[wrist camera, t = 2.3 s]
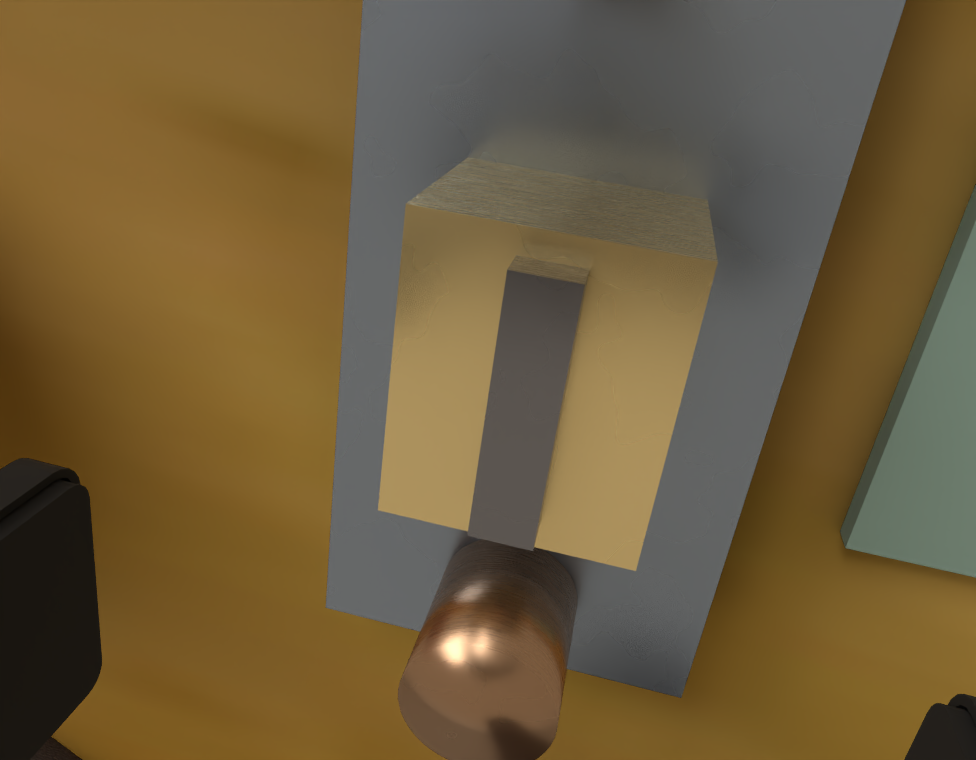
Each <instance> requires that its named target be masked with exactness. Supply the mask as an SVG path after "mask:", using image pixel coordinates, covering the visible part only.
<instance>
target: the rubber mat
mask: <svg viewBox="0 0 976 760" xmlns="http://www.w3.org/2000/svg"><path fill="white" fill-rule="evenodd" d="M840 532H841V536H842V539H843V542H844V545H845V548H847V549H851V550H856V551H860V552H865V553H869V554H874V555H878V556H882V557H887V558H891V559H896V560H900V561H905V562H909V563H914V564H918V565H922V566H927V567H931V568H936V569H940V570H945V571H949V572H953V573H958V574H962V575H967V576H971V577H976V184H975V187H974V190H973V192H972V195H971V197H970V200H969V202H968V205H967V207H966V210H965V213H964V215H963V218H962V220H961V223H960V225H959V228H958V231H957V233H956V236H955V238H954V241H953V243H952V246H951V248H950V251H949V254H948V256H947V259H946V261H945V264H944V266H943V269H942V272H941V274H940V277H939V279H938V282H937V284H936V287H935V289H934V292H933V295H932V297H931V300H930V302H929V305H928V307H927V310H926V313H925V315H924V318H923V320H922V323H921V325H920V328H919V330H918V333H917V336H916V338H915V341H914V343H913V346H912V348H911V351H910V354H909V356H908V359H907V361H906V364H905V366H904V369H903V371H902V374H901V377H900V379H899V382H898V384H897V387H896V389H895V392H894V394H893V397H892V400H891V402H890V405H889V407H888V410H887V412H886V415H885V418H884V420H883V423H882V425H881V428H880V430H879V433H878V435H877V438H876V441H875V443H874V446H873V448H872V451H871V453H870V456H869V459H868V461H867V464H866V466H865V469H864V471H863V474H862V476H861V479H860V482H859V484H858V487H857V489H856V492H855V494H854V497H853V500H852V502H851V505H850V507H849V510H848V512H847V515H846V517H845V520H844V523H843V525H842V528H841V530H840Z"/></svg>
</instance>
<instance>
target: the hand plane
mask: <svg viewBox="0 0 976 760" xmlns="http://www.w3.org/2000/svg"><path fill="white" fill-rule="evenodd" d="M905 2H906V0H363V8H362V24H361V40H360V57H359V73H358V89H357V106H356V122H355V138H354V155H353V171H352V187H351V204H350V220H349V236H348V253H347V269H346V285H345V302H344V318H343V335H342V351H341V367H340V384H339V400H338V416H337V433H336V449H335V465H334V482H333V498H332V514H331V531H330V547H329V563H328V580H327V596H326V608H329V609H333V610H337V611H341V612H345V613H349V614H353V615H357V616H361V617H365V618H369V619H373V620H377V621H380V622H384V623H388V624H392V625H396V626H400V627H404V628H408V629H412V630H416V631H420V634H419V636H418V639H417V641H416V643H415V646H414V648H413V651H412V653H411V656H410V658H409V661H408V663H407V666H406V668H405V671H404V673H403V675H402V678H401V680H400V684H399V689H398V700H399V706H400V710H401V713H402V715H403V718H404V720H405V722H406V723H407V725H408V726H409V728H410V729H411V731H412V732H413V733H414V734H415V736H416V737H417V738H418V739H419V740H420V741H421V742H422V743H424V744H425V745H426V746H427V747H428V748H430V749H431V750H433V751H434V752H436V753H437V754H439V755H441V756H442V757H444V758H446V759H448V760H535V759H537V758H539V757H540V756H541V755H542V754H543V753H544V752H546V750H547V749H548V748H549V747H550V745H551V744H552V742H553V740H554V738H555V735H556V732H557V726H558V720H559V714H560V708H561V702H562V696H563V689H564V683H565V677H566V671H567V669H570V670H574V671H577V672H581V673H585V674H589V675H593V676H597V677H601V678H605V679H609V680H613V681H617V682H621V683H625V684H629V685H633V686H637V687H640V688H644V689H648V690H652V691H656V692H660V693H664V694H668V695H672V696H676V697H680V698H681V697H682V694H683V691H684V687H685V684H686V681H687V678H688V675H689V672H690V669H691V666H692V663H693V660H694V656H695V653H696V650H697V647H698V644H699V641H700V638H701V635H702V632H703V629H704V625H705V622H706V619H707V616H708V613H709V610H710V607H711V604H712V601H713V597H714V594H715V591H716V588H717V585H718V582H719V579H720V576H721V573H722V570H723V566H724V563H725V560H726V557H727V554H728V551H729V548H730V545H731V542H732V539H733V535H734V532H735V529H736V526H737V523H738V520H739V517H740V514H741V511H742V508H743V504H744V501H745V498H746V495H747V492H748V489H749V486H750V483H751V480H752V477H753V473H754V470H755V467H756V464H757V461H758V458H759V455H760V452H761V449H762V446H763V442H764V439H765V436H766V433H767V430H768V427H769V424H770V421H771V418H772V414H773V411H774V408H775V405H776V402H777V399H778V396H779V393H780V390H781V387H782V383H783V380H784V377H785V374H786V371H787V368H788V365H789V362H790V359H791V356H792V352H793V349H794V346H795V343H796V340H797V337H798V334H799V331H800V328H801V325H802V321H803V318H804V315H805V312H806V309H807V306H808V303H809V300H810V297H811V294H812V290H813V287H814V284H815V281H816V278H817V275H818V272H819V269H820V266H821V263H822V259H823V256H824V253H825V250H826V247H827V244H828V241H829V238H830V235H831V231H832V228H833V225H834V222H835V219H836V216H837V213H838V210H839V207H840V204H841V200H842V197H843V194H844V191H845V188H846V185H847V182H848V179H849V176H850V173H851V169H852V166H853V163H854V160H855V157H856V154H857V151H858V148H859V145H860V142H861V138H862V135H863V132H864V129H865V126H866V123H867V120H868V117H869V114H870V111H871V107H872V104H873V101H874V98H875V95H876V92H877V89H878V86H879V83H880V80H881V76H882V73H883V70H884V67H885V64H886V61H887V58H888V55H889V52H890V48H891V45H892V42H893V39H894V36H895V33H896V30H897V27H898V24H899V21H900V17H901V14H902V11H903V8H904V5H905ZM468 157H469V158H474V159H480V160H486V161H491V162H497V163H503V164H508V165H514V166H520V167H525V168H531V169H536V170H542V171H548V172H553V173H559V174H565V175H570V176H576V177H581V178H587V179H593V180H598V181H604V182H610V183H615V184H621V185H627V186H632V187H638V188H643V189H649V190H655V191H660V192H666V193H672V194H677V195H683V196H689V197H694V198H700V199H705V200H708V205H709V211H710V217H711V223H712V229H713V235H714V241H715V247H716V253H717V260H718V263H717V267H716V271H715V275H714V278H713V282H712V286H711V290H710V294H709V297H708V301H707V305H706V309H705V312H704V316H703V320H702V324H701V328H700V331H699V335H698V339H697V343H696V346H695V350H694V354H693V358H692V361H691V365H690V369H689V373H688V377H687V380H686V384H685V388H684V392H683V395H682V399H681V403H680V407H679V410H678V414H677V418H676V422H675V426H674V429H673V433H672V437H671V441H670V444H669V448H668V452H667V456H666V459H665V463H664V467H663V471H662V475H661V478H660V482H659V486H658V490H657V493H656V497H655V501H654V505H653V508H652V512H651V516H650V520H649V524H648V527H647V531H646V535H645V539H644V542H643V546H642V550H641V554H640V557H639V561H638V565H637V569H636V571H633V570H629V569H625V568H621V567H616V566H612V565H608V564H604V563H599V562H595V561H591V560H587V559H582V558H578V557H574V556H570V555H566V554H561V553H557V552H553V551H549V550H544V549H540V548H536V547H534V549H533V551H530V550H526V549H522V548H518V547H513V546H509V545H505V544H501V543H496V542H492V541H488V540H484V539H480V538H475V537H471V536H467V534H468V531H464V530H460V529H455V528H451V527H447V526H443V525H438V524H434V523H430V522H426V521H422V520H417V519H413V518H409V517H405V516H400V515H396V514H392V513H388V512H383V511H379V510H378V504H379V493H380V482H381V471H382V460H383V449H384V438H385V426H386V415H387V404H388V393H389V382H390V371H391V360H392V349H393V338H394V327H395V316H396V305H397V294H398V283H399V272H400V261H401V250H402V239H403V228H404V217H405V206H406V203H407V202H409V201H410V200H411V199H413V198H414V197H415V196H417V195H418V194H419V193H421V192H422V191H423V190H425V189H426V188H427V187H429V186H430V185H431V184H433V183H434V182H436V181H437V180H438V179H440V178H441V177H442V176H444V175H445V174H446V173H448V172H449V171H450V170H452V169H453V168H454V167H456V166H457V165H458V164H460V163H461V162H462V161H464V160H465V159H466V158H468Z"/></svg>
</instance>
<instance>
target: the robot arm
mask: <svg viewBox="0 0 976 760" xmlns="http://www.w3.org/2000/svg"><path fill="white" fill-rule="evenodd" d="M101 666H102V653H101V640H100V627H99V614H98V601H97V588H96V575H95V562H94V549H93V536H92V523H91V510H90V497H89V493H88V490H87V489H86V487H84V486H82V485H80V481H79V477H78V476H77V474H76V473H75V472H74V471H72V470H70V469H68V468H64V467H60V466H56V465H52V464H49V463H45V462H41V461H37V460H33V459H29V458H21V459H18V460H15V461H13V462H11V463H10V464H8V465H6V466H5V467H3V468H2V469H0V760H30V759H31V758H32V757H33V756H34V755H35V754H36V753H37V751H38V750H39V749H40V748H41V747H42V746H43V745H44V744H45V742H46V741H47V740H48V739H49V738H50V737H51V736H52V735H53V733H54V732H55V731H56V730H57V729H58V728H59V727H60V726H61V724H62V723H63V722H64V721H65V720H66V719H67V718H68V717H69V715H70V714H71V713H72V712H73V711H74V710H75V709H76V708H77V706H78V705H79V704H80V703H81V702H82V701H83V700H84V699H85V697H86V696H87V695H88V694H89V693H90V691H91V690H92V689H93V687H94V685H95V683H96V681H97V679H98V677H99V674H100V670H101ZM904 760H976V697H974V696H970V695H966V694H958V695H956V696H955V697H953V698H952V699H951V700H950V702H949V703H948V705H945V704H941V703H936V704H934V705H933V706H931V708H930V709H929V711H928V712H927V714H926V716H925V718H924V720H923V722H922V725H921V727H920V729H919V731H918V733H917V735H916V737H915V739H914V741H913V743H912V745H911V747H910V749H909V751H908V753H907V755H906V757H905V759H904Z"/></svg>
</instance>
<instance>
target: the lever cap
mask: <svg viewBox="0 0 976 760" xmlns="http://www.w3.org/2000/svg"><path fill="white" fill-rule="evenodd" d="M717 263H718V260H717V253H716V247H715V241H714V235H713V229H712V223H711V217H710V211H709V205H708V200H705V199H700V198H694V197H689V196H683V195H677V194H672V193H666V192H660V191H655V190H649V189H643V188H638V187H632V186H627V185H621V184H615V183H610V182H604V181H598V180H593V179H587V178H581V177H576V176H570V175H565V174H559V173H553V172H548V171H542V170H536V169H531V168H525V167H520V166H514V165H508V164H503V163H497V162H491V161H486V160H480V159H474V158H469V157H468V158H466V159H465V160H464V161H462V162H461V163H460V164H458V165H457V166H456V167H454V168H453V169H452V170H450V171H449V172H448V173H446V174H445V175H444V176H442V177H441V178H440V179H438V180H437V181H436V182H434V183H433V184H431V185H430V186H429V187H427V188H426V189H425V190H423V191H422V192H421V193H419V194H418V195H417V196H415V197H414V198H413V199H411V200H410V201H409V202H407V203H406V206H405V217H404V228H403V239H402V250H401V261H400V272H399V283H398V294H397V305H396V316H395V327H394V338H393V349H392V360H391V371H390V382H389V393H388V404H387V415H386V426H385V438H384V449H383V460H382V471H381V482H380V493H379V504H378V510H379V511H383V512H388V513H392V514H396V515H400V516H405V517H409V518H413V519H417V520H422V521H426V522H430V523H434V524H438V525H443V526H447V527H451V528H455V529H460V530H464V531H468V534H467V536H471V537H475V538H480V539H484V540H488V541H492V542H496V543H501V544H505V545H509V546H513V547H518V548H522V549H526V550H530V551H533V549H534V547H536V548H540V549H544V550H549V551H553V552H557V553H561V554H566V555H570V556H574V557H578V558H582V559H587V560H591V561H595V562H599V563H604V564H608V565H612V566H616V567H621V568H625V569H629V570H633V571H636V569H637V565H638V561H639V557H640V554H641V550H642V546H643V542H644V539H645V535H646V531H647V527H648V524H649V520H650V516H651V512H652V508H653V505H654V501H655V497H656V493H657V490H658V486H659V482H660V478H661V475H662V471H663V467H664V463H665V459H666V456H667V452H668V448H669V444H670V441H671V437H672V433H673V429H674V426H675V422H676V418H677V414H678V410H679V407H680V403H681V399H682V395H683V392H684V388H685V384H686V380H687V377H688V373H689V369H690V365H691V361H692V358H693V354H694V350H695V346H696V343H697V339H698V335H699V331H700V328H701V324H702V320H703V316H704V312H705V309H706V305H707V301H708V297H709V294H710V290H711V286H712V282H713V278H714V275H715V271H716V267H717Z"/></svg>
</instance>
